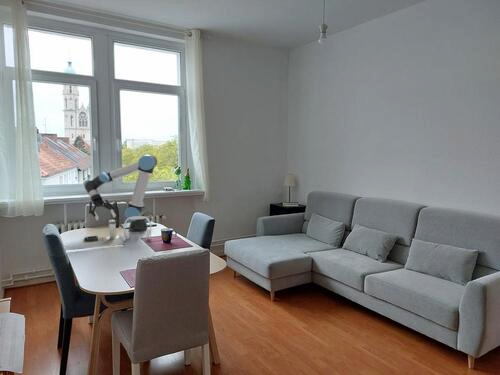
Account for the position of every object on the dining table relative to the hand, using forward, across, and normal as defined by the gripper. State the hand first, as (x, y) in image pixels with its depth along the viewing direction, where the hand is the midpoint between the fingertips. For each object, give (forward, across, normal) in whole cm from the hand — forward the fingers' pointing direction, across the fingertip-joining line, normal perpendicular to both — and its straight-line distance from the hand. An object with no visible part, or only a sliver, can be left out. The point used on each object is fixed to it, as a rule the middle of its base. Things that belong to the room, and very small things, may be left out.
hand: (106, 218), depth 266 cm
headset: (+27, -12, +4) cm, 30 cm away
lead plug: (+15, 0, -5) cm, 16 cm away
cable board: (+14, +6, -8) cm, 17 cm away
